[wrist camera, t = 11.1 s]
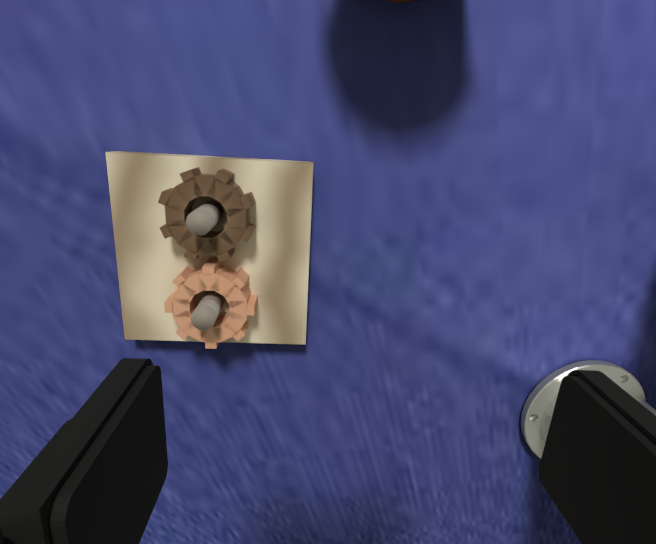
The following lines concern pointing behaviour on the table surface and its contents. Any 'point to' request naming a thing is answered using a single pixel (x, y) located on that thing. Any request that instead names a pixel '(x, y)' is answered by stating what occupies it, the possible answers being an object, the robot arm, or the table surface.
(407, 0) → the food container
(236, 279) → the terracotta gear
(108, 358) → the table surface
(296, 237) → the gear board
